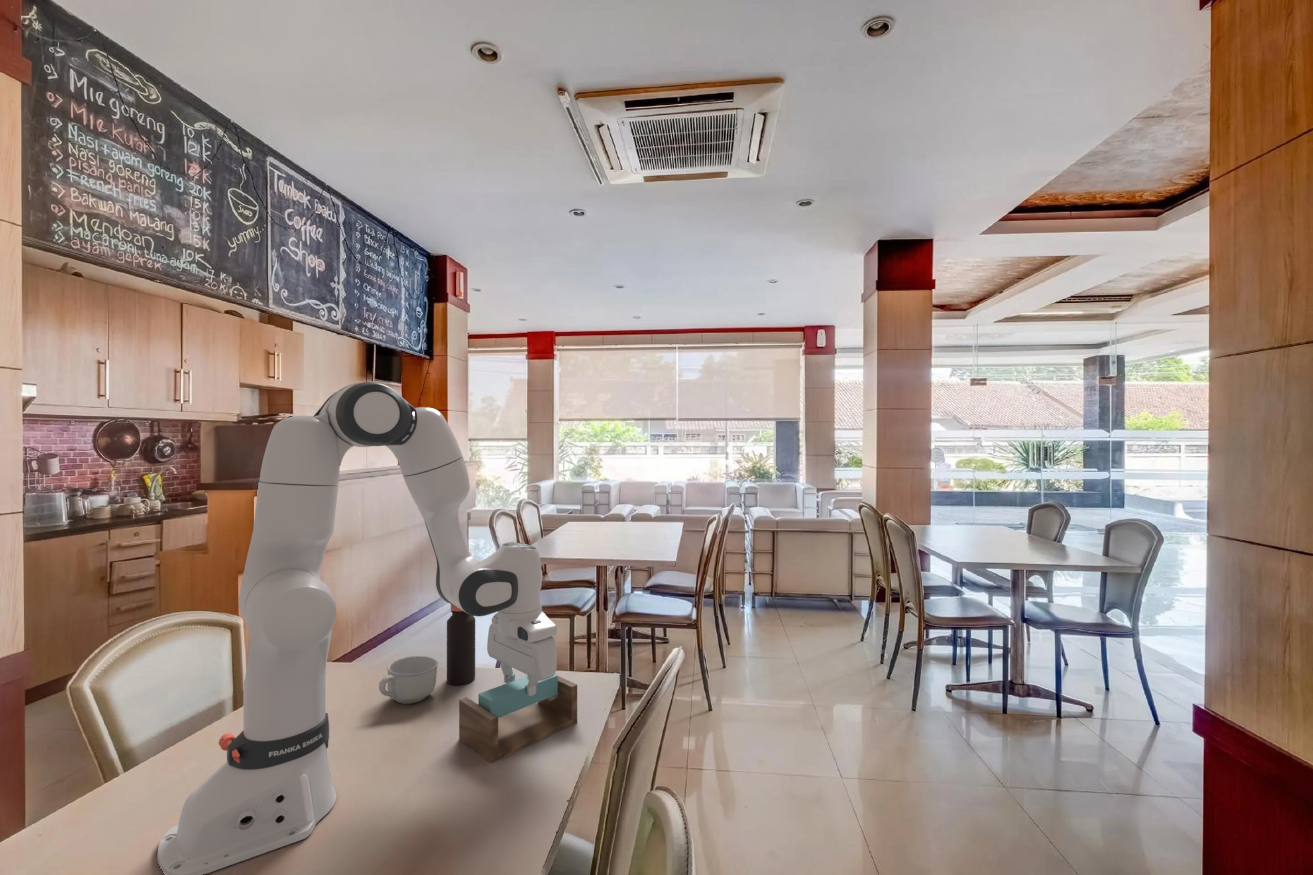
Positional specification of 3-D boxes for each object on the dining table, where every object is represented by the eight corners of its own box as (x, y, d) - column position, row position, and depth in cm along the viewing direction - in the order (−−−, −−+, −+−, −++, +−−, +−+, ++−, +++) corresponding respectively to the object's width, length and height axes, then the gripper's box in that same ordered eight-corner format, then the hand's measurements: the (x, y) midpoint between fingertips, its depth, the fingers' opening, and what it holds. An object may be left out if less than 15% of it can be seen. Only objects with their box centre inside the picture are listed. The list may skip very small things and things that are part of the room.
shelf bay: (491, 762, 104) (491, 719, 104) (459, 739, 112) (459, 699, 112) (577, 722, 119) (577, 684, 119) (543, 704, 127) (543, 669, 127)
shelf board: (490, 721, 108) (490, 700, 108) (478, 713, 111) (478, 693, 111) (557, 693, 120) (557, 675, 120) (545, 687, 123) (545, 669, 123)
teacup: (421, 683, 138) (421, 651, 138) (447, 695, 132) (447, 661, 132) (364, 705, 127) (364, 670, 127) (389, 719, 120) (389, 681, 120)
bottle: (479, 674, 143) (479, 596, 143) (468, 686, 136) (468, 604, 137) (454, 673, 144) (454, 595, 144) (441, 685, 137) (441, 603, 137)
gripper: (479, 614, 120) (479, 678, 120) (535, 636, 106) (535, 709, 106) (505, 607, 125) (505, 670, 125) (562, 628, 111) (562, 698, 111)
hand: (519, 688), depth 116 cm, fingers open, 6 cm apart
